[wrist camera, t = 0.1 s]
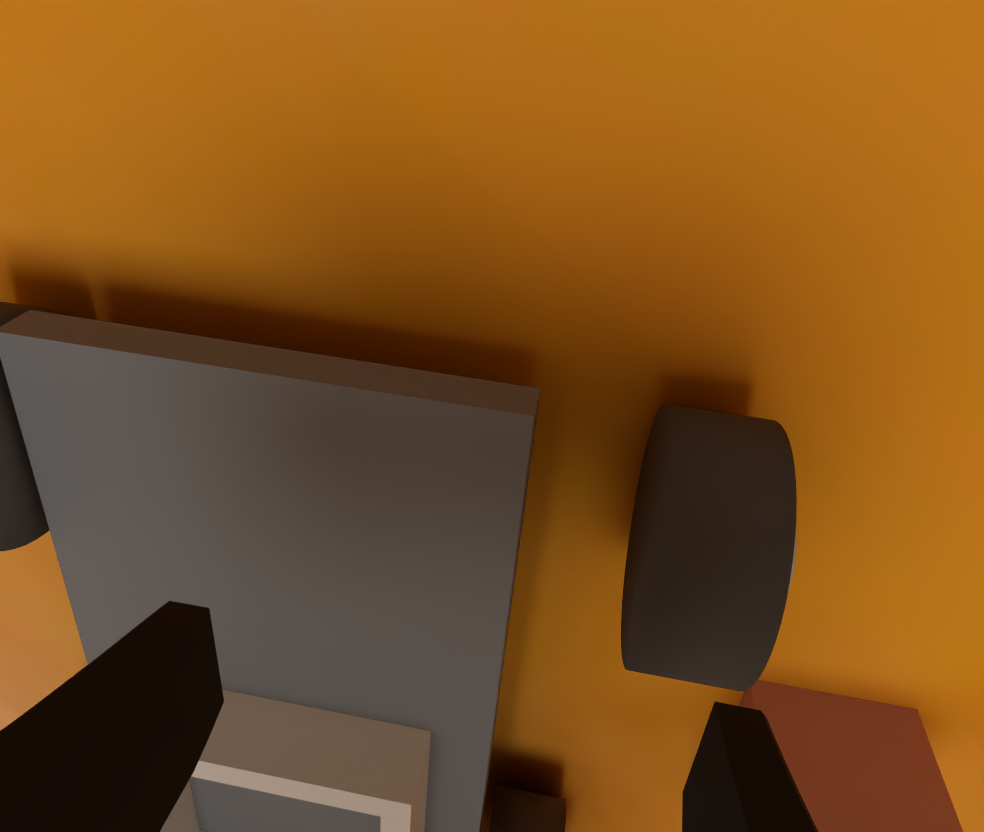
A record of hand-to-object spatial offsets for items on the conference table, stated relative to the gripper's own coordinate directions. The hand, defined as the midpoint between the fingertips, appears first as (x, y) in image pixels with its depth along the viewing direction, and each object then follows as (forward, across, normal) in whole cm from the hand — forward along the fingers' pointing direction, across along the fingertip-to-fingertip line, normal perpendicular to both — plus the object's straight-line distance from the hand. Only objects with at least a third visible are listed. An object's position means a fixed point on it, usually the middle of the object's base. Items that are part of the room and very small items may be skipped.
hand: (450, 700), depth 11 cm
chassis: (+10, +6, +10) cm, 15 cm away
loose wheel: (+10, -4, +2) cm, 11 cm away
